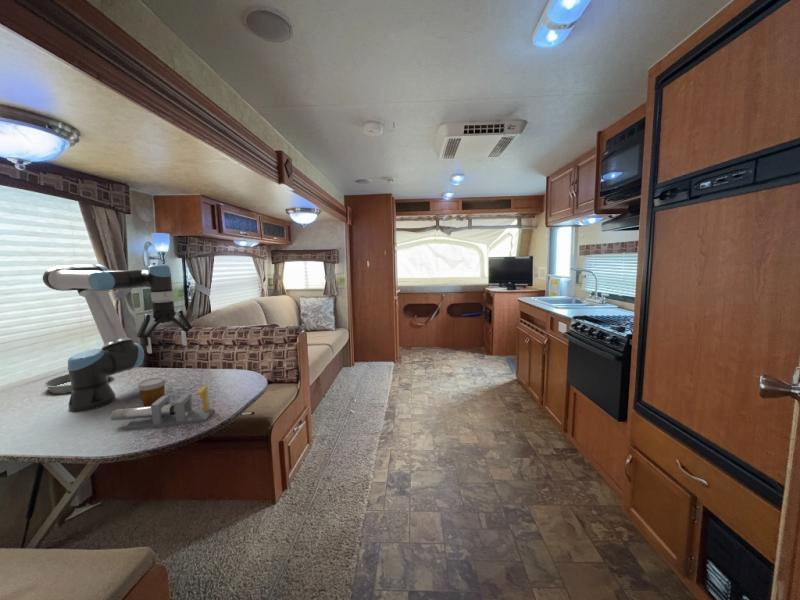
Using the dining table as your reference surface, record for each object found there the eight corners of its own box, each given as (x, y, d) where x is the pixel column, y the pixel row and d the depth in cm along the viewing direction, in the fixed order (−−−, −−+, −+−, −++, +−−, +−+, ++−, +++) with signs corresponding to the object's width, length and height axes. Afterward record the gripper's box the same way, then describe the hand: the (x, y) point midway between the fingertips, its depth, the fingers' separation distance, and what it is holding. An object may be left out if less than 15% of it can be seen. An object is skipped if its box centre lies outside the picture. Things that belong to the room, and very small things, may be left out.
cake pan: (101, 389, 160) (100, 380, 160) (33, 399, 150) (31, 390, 150) (119, 373, 183) (118, 366, 182) (61, 381, 172) (59, 373, 172)
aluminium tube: (111, 423, 121) (109, 412, 121) (118, 417, 126) (117, 407, 125) (176, 416, 126) (175, 406, 125) (181, 411, 130) (180, 401, 129)
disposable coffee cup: (152, 403, 143) (149, 377, 141) (173, 403, 142) (170, 377, 141) (134, 414, 133) (130, 386, 132) (157, 413, 133) (153, 386, 131)
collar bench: (123, 430, 120) (119, 402, 119) (137, 418, 129) (134, 392, 128) (205, 421, 126) (203, 394, 124) (214, 410, 135) (211, 385, 133)
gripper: (130, 305, 127) (136, 357, 130) (197, 298, 148) (202, 343, 151) (123, 304, 131) (129, 354, 134) (189, 297, 152) (193, 341, 155)
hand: (167, 349), depth 142 cm, fingers open, 13 cm apart
